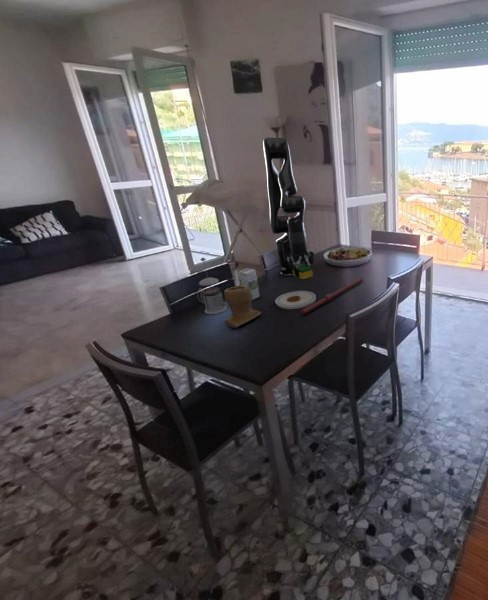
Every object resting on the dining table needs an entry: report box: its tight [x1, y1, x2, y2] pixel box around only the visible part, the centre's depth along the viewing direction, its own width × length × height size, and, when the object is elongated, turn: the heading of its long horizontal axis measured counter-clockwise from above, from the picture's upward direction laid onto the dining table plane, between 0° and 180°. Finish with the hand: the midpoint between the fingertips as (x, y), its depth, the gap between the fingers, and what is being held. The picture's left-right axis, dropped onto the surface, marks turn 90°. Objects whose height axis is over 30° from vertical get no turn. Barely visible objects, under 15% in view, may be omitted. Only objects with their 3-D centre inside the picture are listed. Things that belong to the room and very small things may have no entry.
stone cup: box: [223, 285, 262, 329], centre depth 151 cm, size 15×12×15 cm
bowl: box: [323, 246, 373, 268], centre depth 225 cm, size 30×30×8 cm
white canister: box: [237, 268, 261, 302], centre depth 172 cm, size 6×6×14 cm
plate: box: [274, 290, 317, 310], centre depth 172 cm, size 19×19×1 cm
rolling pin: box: [300, 277, 364, 316], centre depth 174 cm, size 45×3×3 cm, turn 151°
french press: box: [197, 257, 228, 315], centre depth 159 cm, size 10×12×25 cm
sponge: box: [292, 263, 314, 280], centre depth 170 cm, size 8×6×4 cm
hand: (302, 274), depth 171 cm, fingers closed on sponge, 5 cm apart
